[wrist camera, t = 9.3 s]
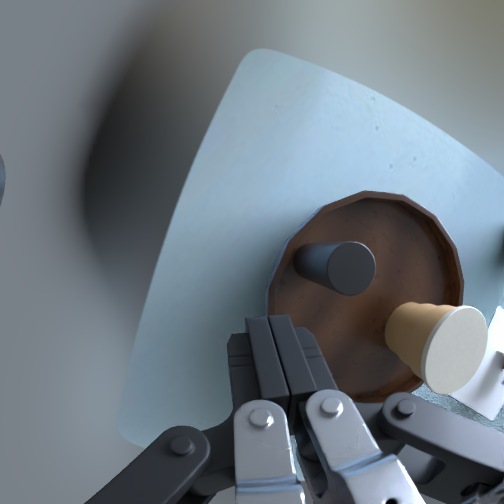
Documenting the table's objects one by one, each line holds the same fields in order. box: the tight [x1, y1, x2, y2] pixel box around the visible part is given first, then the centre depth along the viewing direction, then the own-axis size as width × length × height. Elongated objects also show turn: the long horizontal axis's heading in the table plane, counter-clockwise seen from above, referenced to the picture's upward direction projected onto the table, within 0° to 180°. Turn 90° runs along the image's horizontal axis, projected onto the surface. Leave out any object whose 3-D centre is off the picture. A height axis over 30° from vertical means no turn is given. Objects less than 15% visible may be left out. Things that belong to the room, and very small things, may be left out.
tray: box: [265, 190, 464, 403], centre depth 21 cm, size 20×20×10 cm
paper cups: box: [385, 302, 488, 395], centre depth 22 cm, size 7×7×8 cm
